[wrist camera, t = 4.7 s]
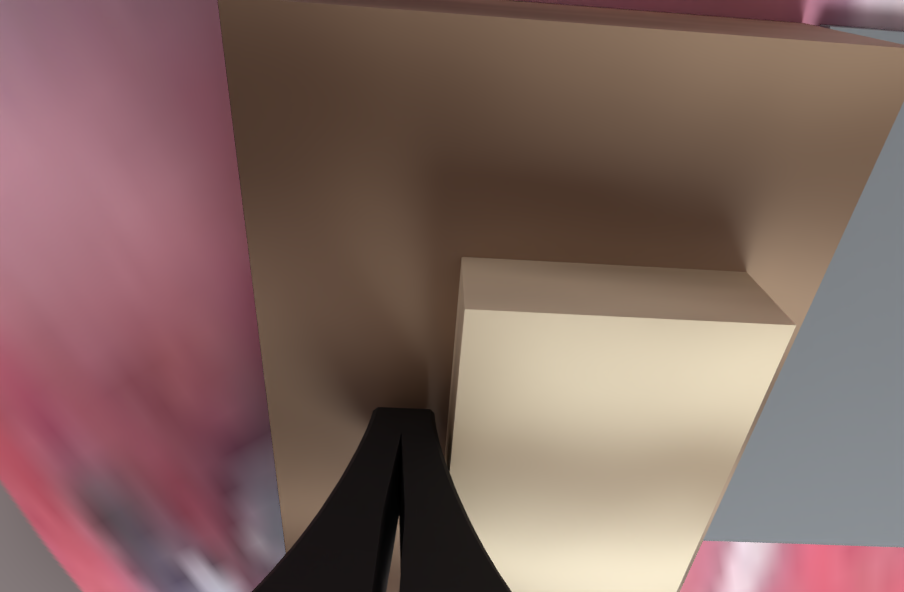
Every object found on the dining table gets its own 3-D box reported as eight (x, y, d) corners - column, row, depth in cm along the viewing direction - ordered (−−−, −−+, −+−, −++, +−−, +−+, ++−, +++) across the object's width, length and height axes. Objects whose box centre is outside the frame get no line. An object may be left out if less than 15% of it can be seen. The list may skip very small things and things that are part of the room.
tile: (644, 543, 17) (667, 611, 15) (437, 537, 17) (437, 606, 15) (746, 272, 12) (796, 325, 10) (461, 256, 12) (464, 309, 10)
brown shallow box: (627, 529, 23) (660, 632, 19) (317, 518, 22) (294, 623, 19) (803, 23, 13) (927, 49, 10) (277, -18, 13) (217, -5, 9)
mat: (898, 538, 23) (905, 547, 23) (638, 529, 23) (640, 538, 22) (1248, 57, 14) (1268, 60, 14) (820, 24, 13) (830, 26, 13)
